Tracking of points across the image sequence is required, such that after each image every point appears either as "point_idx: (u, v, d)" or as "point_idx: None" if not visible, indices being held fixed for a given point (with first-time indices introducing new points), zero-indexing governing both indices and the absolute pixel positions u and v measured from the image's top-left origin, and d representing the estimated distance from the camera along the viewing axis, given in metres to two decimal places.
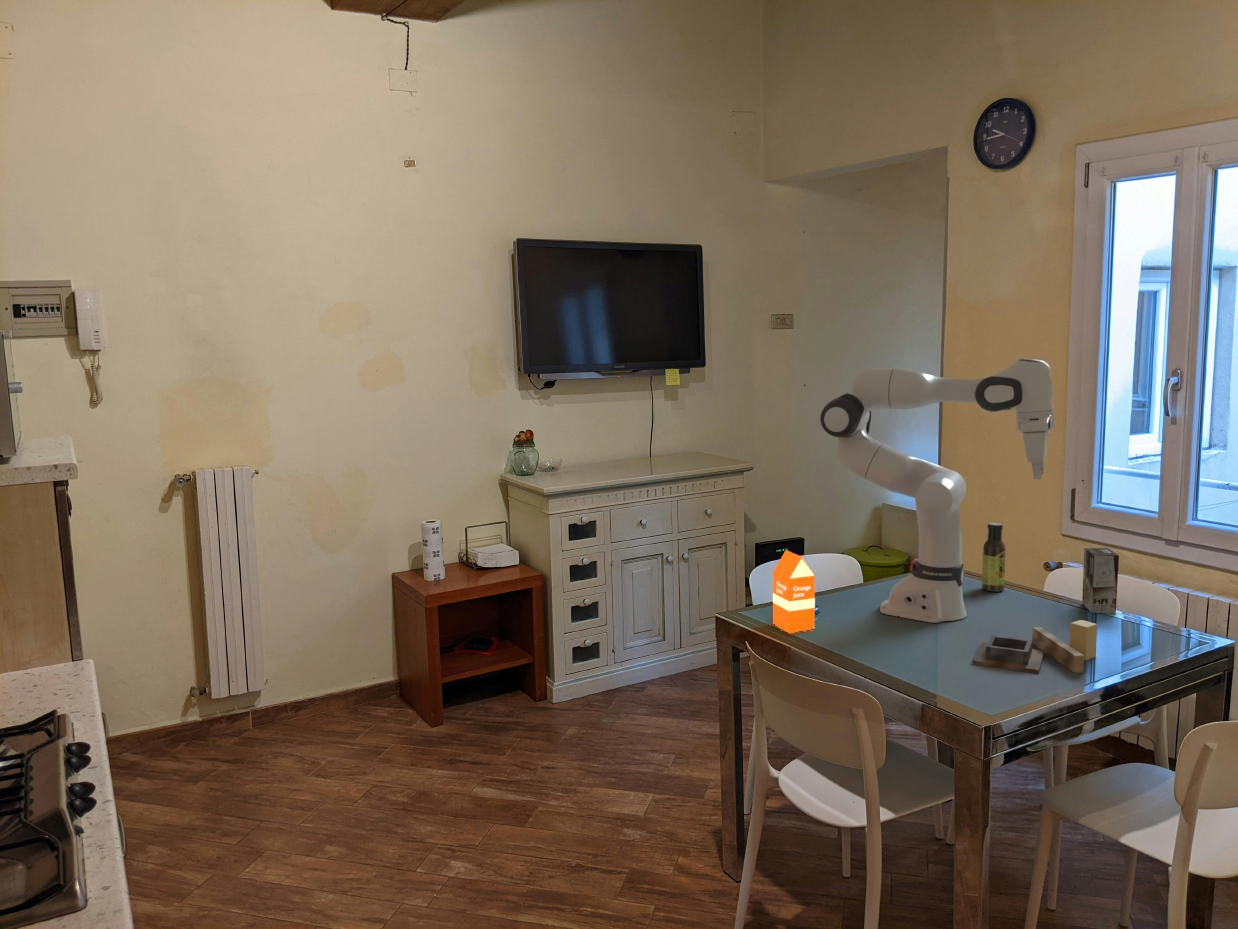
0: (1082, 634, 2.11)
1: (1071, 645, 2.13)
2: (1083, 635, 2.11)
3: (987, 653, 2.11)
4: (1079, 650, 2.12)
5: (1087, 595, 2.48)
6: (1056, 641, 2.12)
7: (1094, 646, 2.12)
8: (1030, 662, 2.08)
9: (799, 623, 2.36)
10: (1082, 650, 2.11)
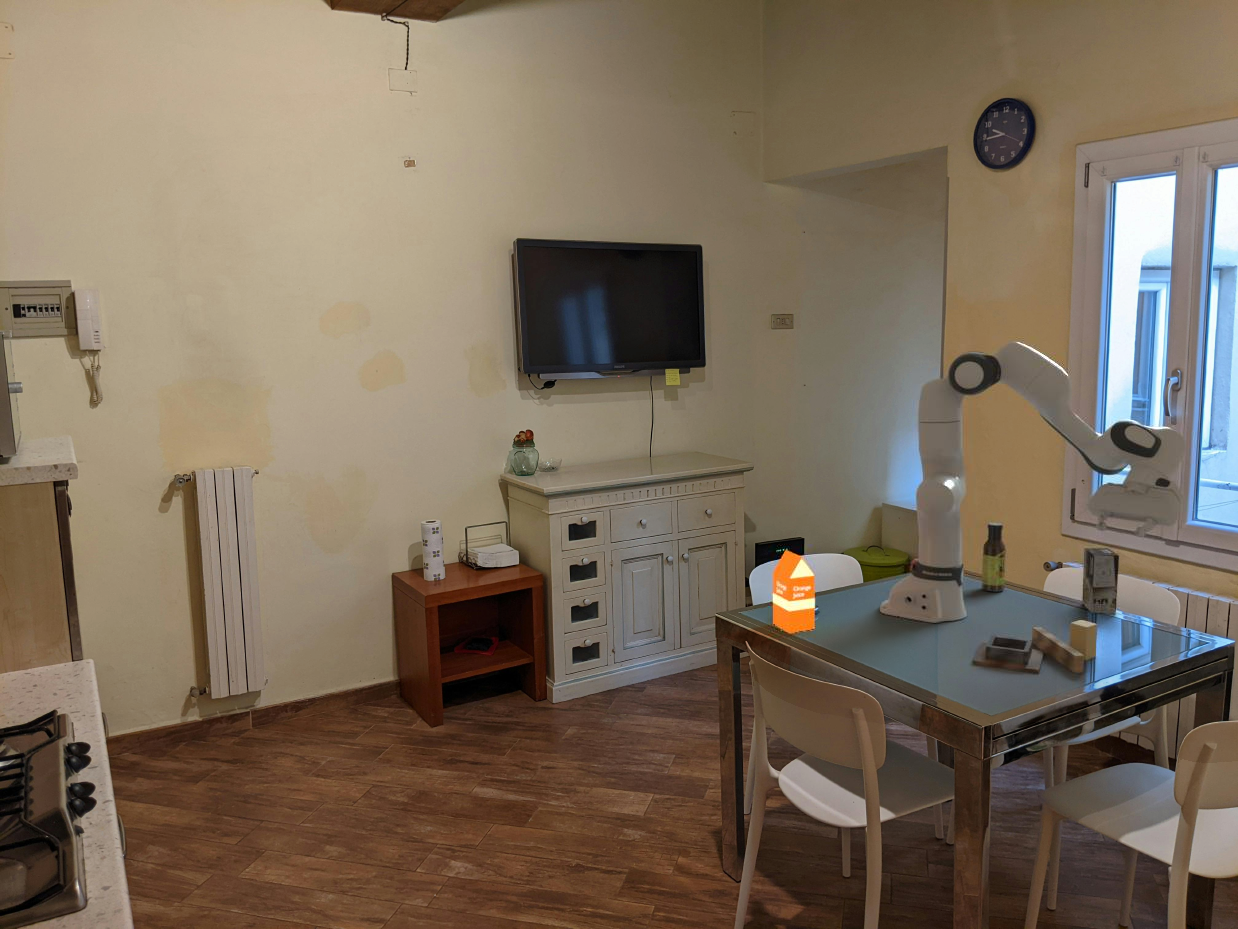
0: (1082, 634, 2.11)
1: (1071, 645, 2.13)
2: (1083, 635, 2.11)
3: (987, 653, 2.11)
4: (1079, 650, 2.12)
5: (1087, 595, 2.48)
6: (1056, 641, 2.12)
7: (1094, 646, 2.12)
8: (1030, 662, 2.08)
9: (799, 623, 2.36)
10: (1082, 650, 2.11)
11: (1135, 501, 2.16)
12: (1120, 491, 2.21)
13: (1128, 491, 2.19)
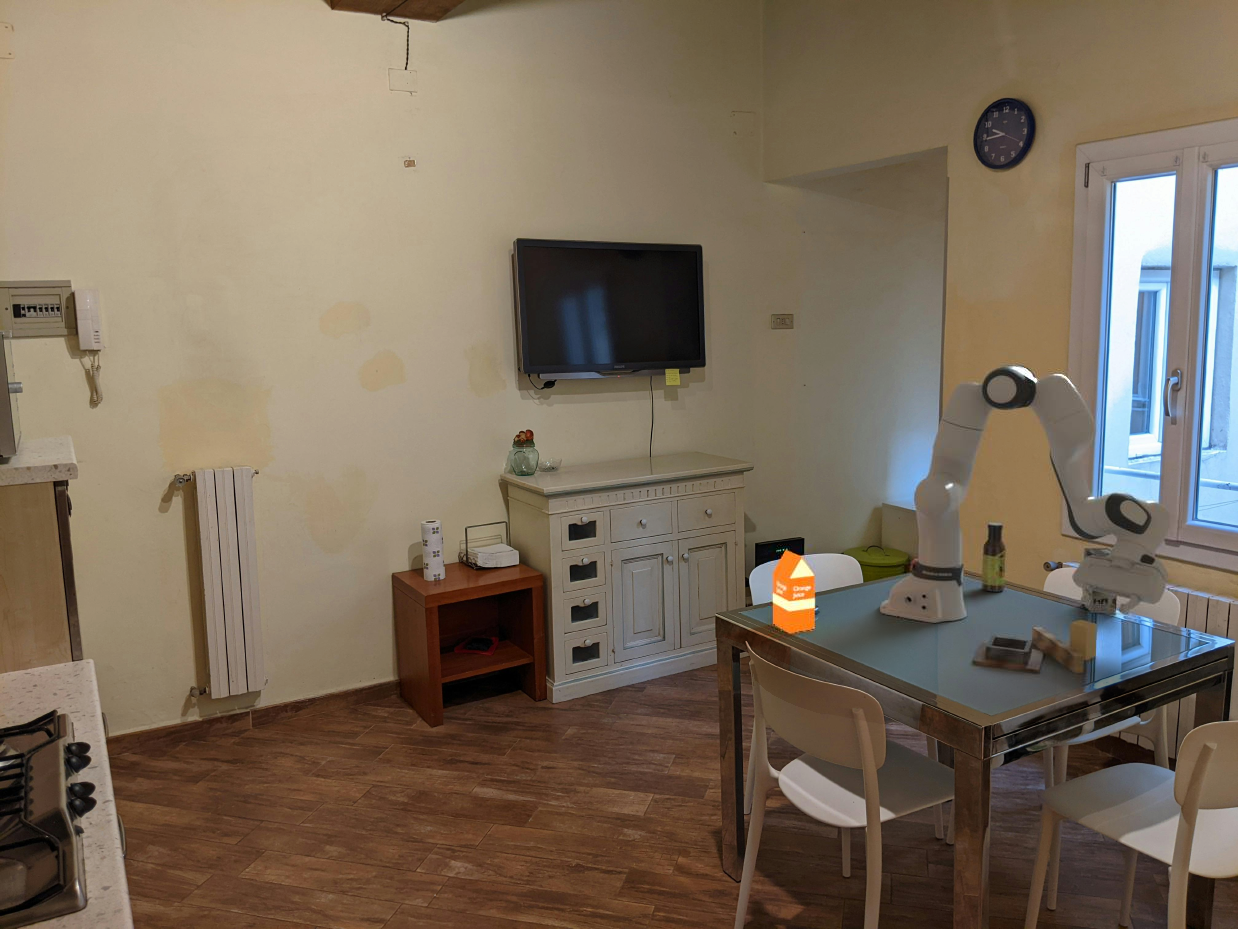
0: (1082, 634, 2.11)
1: (1071, 645, 2.13)
2: (1083, 635, 2.11)
3: (987, 653, 2.11)
4: (1079, 650, 2.12)
5: None
6: (1056, 641, 2.12)
7: (1094, 646, 2.12)
8: (1030, 662, 2.08)
9: (799, 623, 2.36)
10: (1082, 650, 2.11)
11: (1120, 577, 2.16)
12: (1105, 565, 2.21)
13: (1113, 565, 2.19)
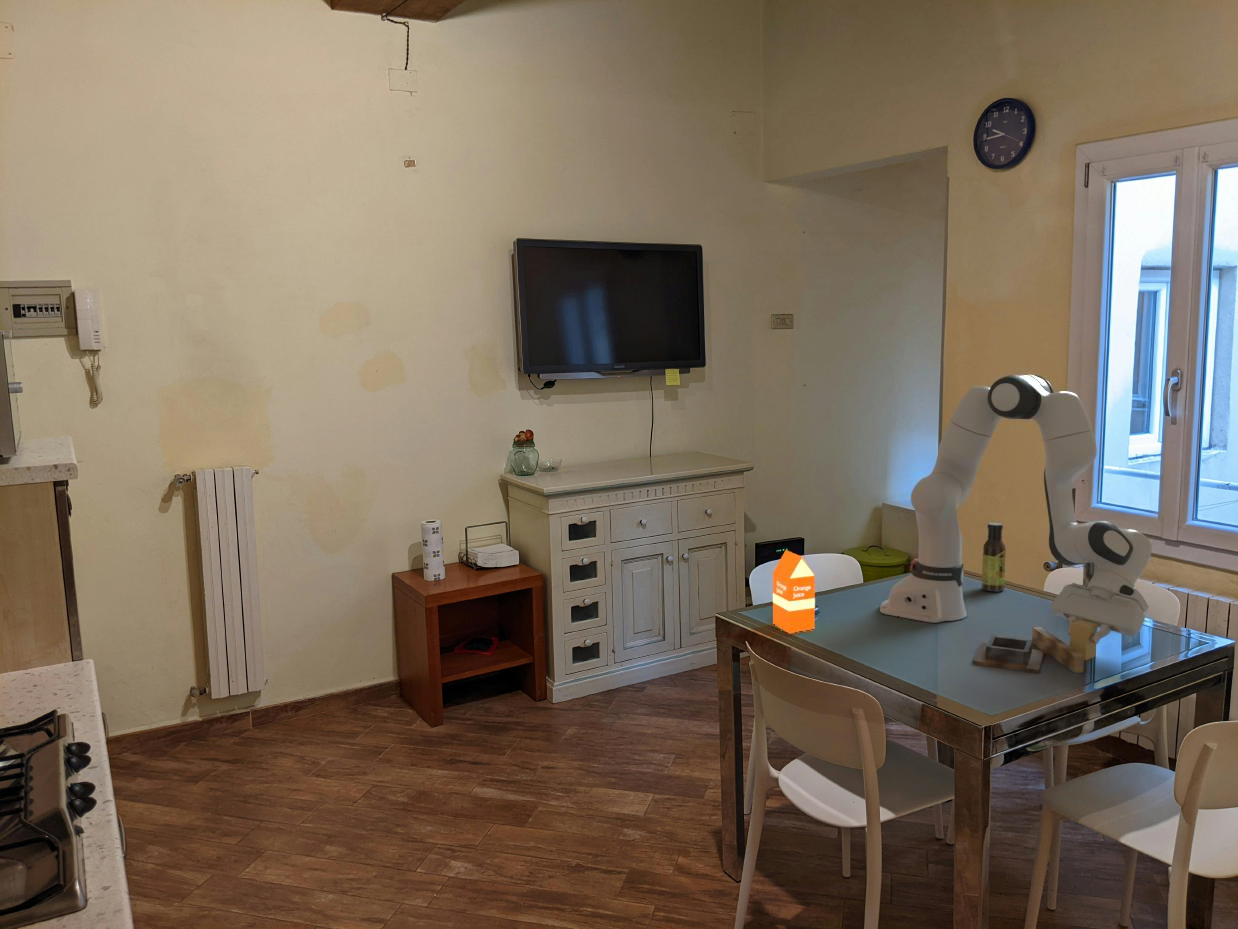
0: (1082, 634, 2.11)
1: (1071, 645, 2.13)
2: (1083, 635, 2.11)
3: (987, 653, 2.11)
4: (1079, 650, 2.12)
5: None
6: (1056, 641, 2.12)
7: (1094, 646, 2.12)
8: (1030, 662, 2.08)
9: (799, 623, 2.36)
10: (1082, 650, 2.11)
11: (1099, 607, 2.13)
12: (1084, 594, 2.18)
13: (1092, 595, 2.15)
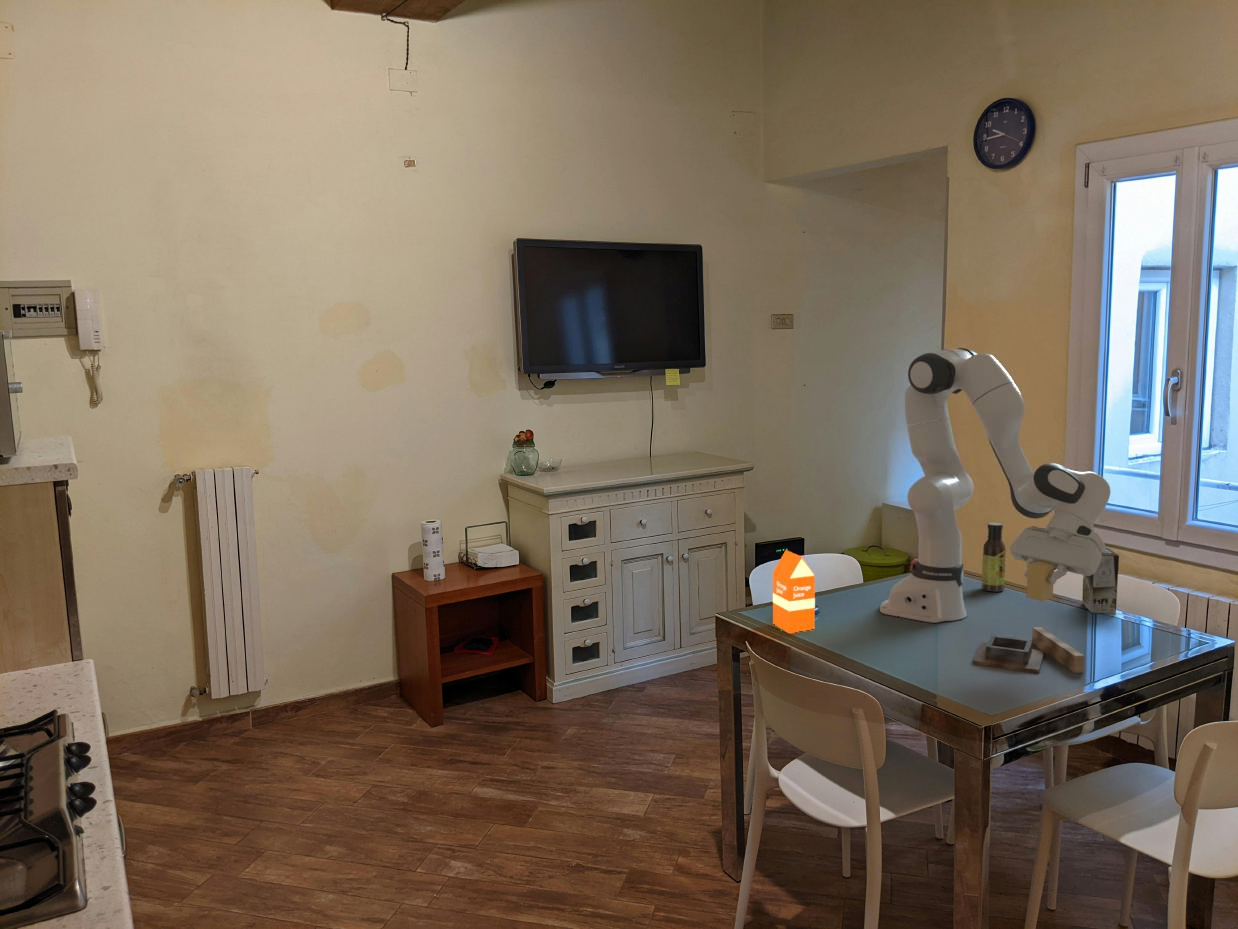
0: (1039, 575, 2.09)
1: (1028, 586, 2.12)
2: (1040, 576, 2.09)
3: (987, 653, 2.11)
4: (1036, 591, 2.10)
5: (1087, 595, 2.48)
6: (1056, 641, 2.12)
7: (1051, 587, 2.10)
8: (1030, 662, 2.08)
9: (799, 623, 2.36)
10: (1038, 591, 2.09)
11: (1056, 548, 2.11)
12: (1042, 536, 2.16)
13: (1050, 537, 2.13)
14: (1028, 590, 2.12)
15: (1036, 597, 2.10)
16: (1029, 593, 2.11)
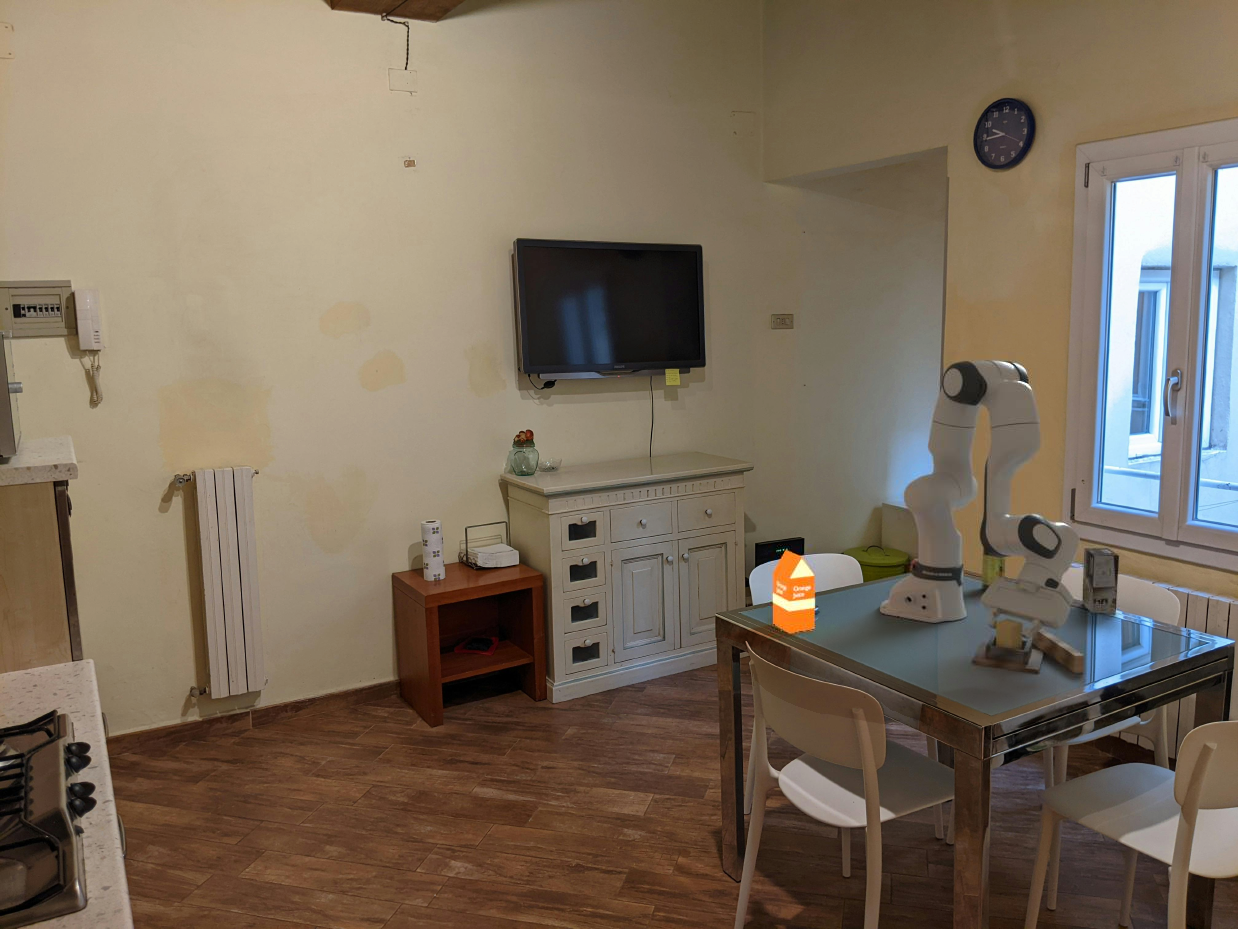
0: (1007, 634, 2.10)
1: (997, 644, 2.13)
2: (1008, 634, 2.10)
3: (987, 653, 2.11)
4: None
5: (1087, 595, 2.48)
6: (1056, 641, 2.12)
7: (1020, 645, 2.12)
8: (1030, 662, 2.08)
9: (799, 623, 2.36)
10: None
11: (1025, 601, 2.12)
12: (1012, 588, 2.17)
13: (1019, 589, 2.15)
14: None
15: None
16: None
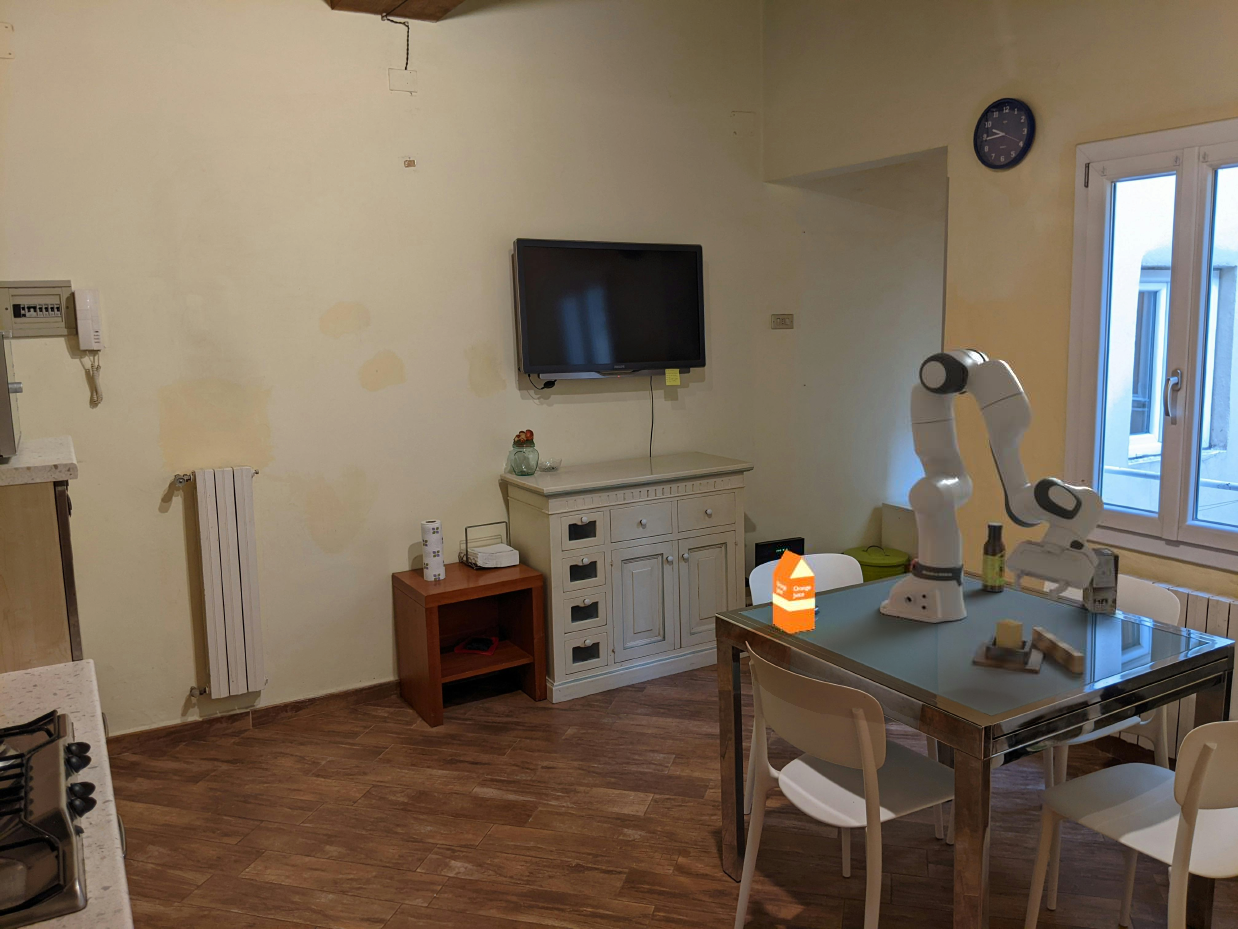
0: (1007, 634, 2.10)
1: (997, 644, 2.13)
2: (1008, 634, 2.10)
3: (987, 653, 2.11)
4: None
5: (1087, 595, 2.48)
6: (1056, 641, 2.12)
7: (1020, 645, 2.12)
8: (1030, 662, 2.08)
9: (799, 623, 2.36)
10: None
11: (1050, 562, 2.16)
12: (1037, 550, 2.20)
13: (1044, 551, 2.18)
14: None
15: None
16: None
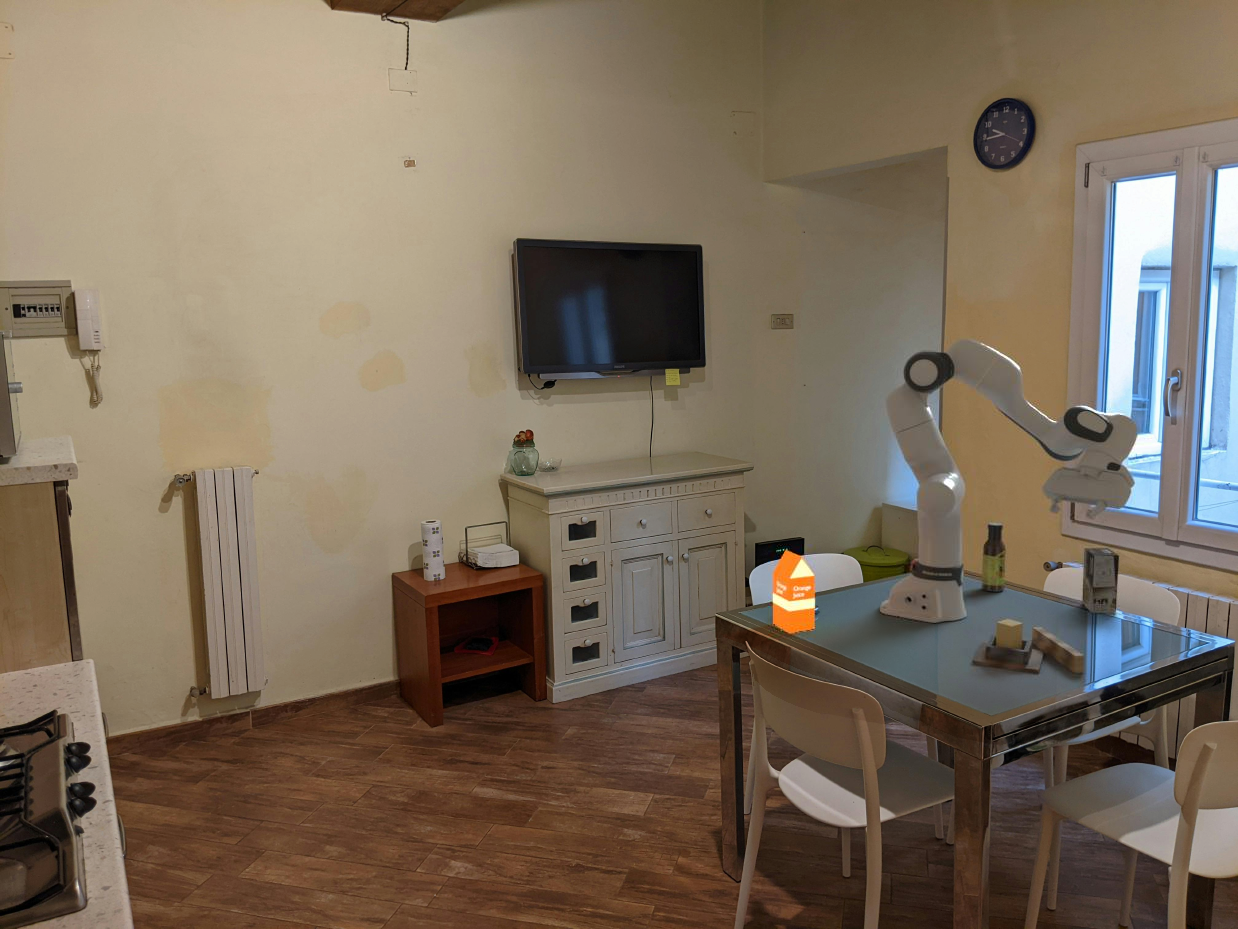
0: (1007, 634, 2.10)
1: (997, 644, 2.13)
2: (1008, 634, 2.10)
3: (987, 653, 2.11)
4: None
5: (1087, 595, 2.48)
6: (1056, 641, 2.12)
7: (1020, 645, 2.12)
8: (1030, 662, 2.08)
9: (799, 623, 2.36)
10: None
11: (1087, 485, 2.21)
12: (1073, 475, 2.26)
13: (1081, 475, 2.24)
14: None
15: None
16: None
